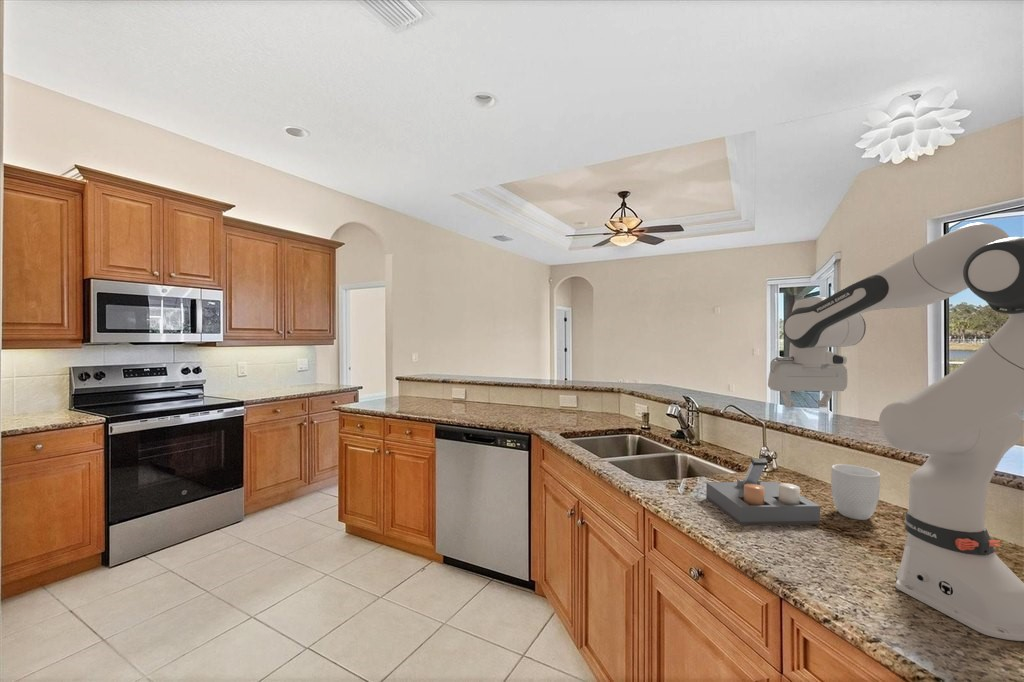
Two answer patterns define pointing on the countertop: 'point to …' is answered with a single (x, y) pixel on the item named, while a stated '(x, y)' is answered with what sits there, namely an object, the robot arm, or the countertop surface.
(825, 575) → the countertop surface
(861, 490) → the mug
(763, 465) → the lever
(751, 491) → the terracotta button
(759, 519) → the console
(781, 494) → the white button
